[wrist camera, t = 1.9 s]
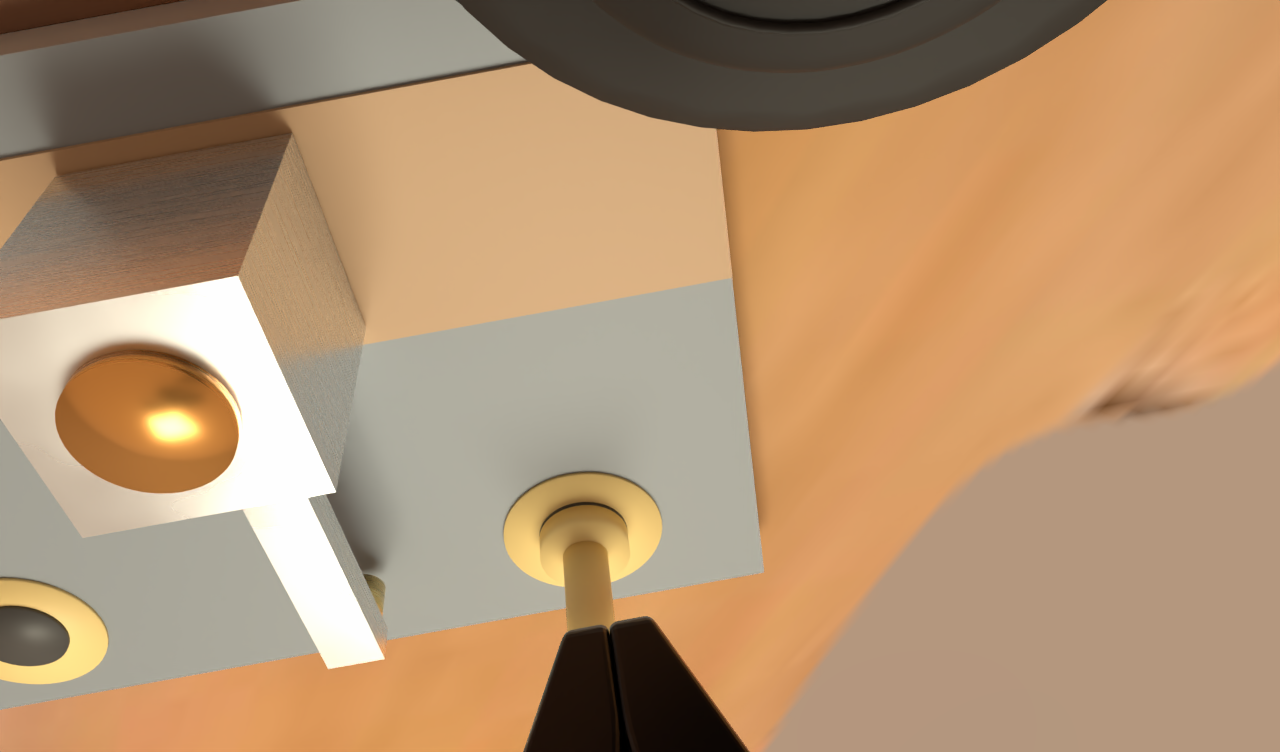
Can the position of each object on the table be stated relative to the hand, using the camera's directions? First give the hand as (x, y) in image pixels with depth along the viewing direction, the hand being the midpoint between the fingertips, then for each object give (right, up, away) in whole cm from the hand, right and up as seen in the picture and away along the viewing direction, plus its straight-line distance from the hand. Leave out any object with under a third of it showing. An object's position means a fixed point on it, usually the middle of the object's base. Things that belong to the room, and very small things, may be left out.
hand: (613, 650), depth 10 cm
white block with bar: (-7, +2, +11) cm, 13 cm away
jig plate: (-9, +2, +12) cm, 15 cm away
